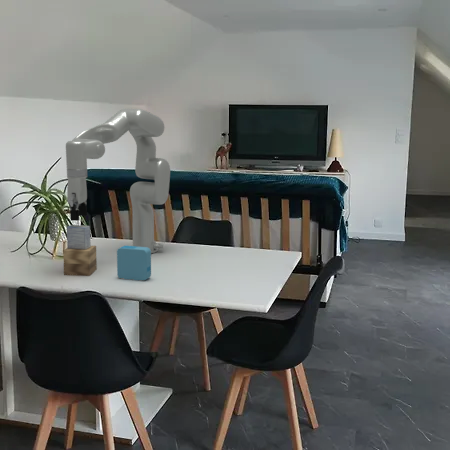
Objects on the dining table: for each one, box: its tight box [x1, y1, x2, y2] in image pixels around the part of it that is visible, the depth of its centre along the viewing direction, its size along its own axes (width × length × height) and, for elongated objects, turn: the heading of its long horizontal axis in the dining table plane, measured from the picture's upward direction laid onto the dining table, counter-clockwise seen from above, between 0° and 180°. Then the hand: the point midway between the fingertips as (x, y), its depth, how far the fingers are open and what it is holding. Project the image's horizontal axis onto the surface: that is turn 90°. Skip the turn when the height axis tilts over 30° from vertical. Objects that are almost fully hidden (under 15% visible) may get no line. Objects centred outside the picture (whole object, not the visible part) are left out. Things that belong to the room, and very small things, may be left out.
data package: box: [116, 245, 152, 281], centre depth 224 cm, size 12×4×12 cm, turn 75°
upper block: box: [62, 245, 97, 264], centre depth 231 cm, size 10×10×5 cm
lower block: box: [63, 258, 98, 277], centre depth 232 cm, size 10×10×5 cm
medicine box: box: [66, 224, 92, 249], centre depth 230 cm, size 8×4×9 cm, turn 76°
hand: (79, 217), depth 229 cm, fingers open, 9 cm apart
